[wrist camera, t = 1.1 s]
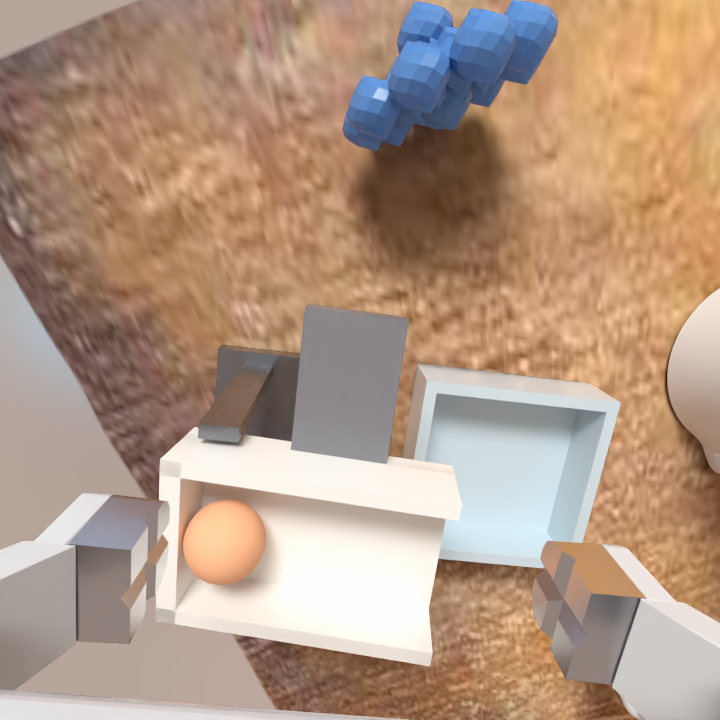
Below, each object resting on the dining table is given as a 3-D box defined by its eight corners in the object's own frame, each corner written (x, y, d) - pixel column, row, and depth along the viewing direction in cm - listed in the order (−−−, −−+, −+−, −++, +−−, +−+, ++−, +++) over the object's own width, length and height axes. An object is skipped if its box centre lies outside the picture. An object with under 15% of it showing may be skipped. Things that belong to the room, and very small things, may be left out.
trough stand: (302, 353, 37) (281, 417, 24) (287, 507, 40) (261, 633, 27) (222, 344, 36) (157, 403, 24) (213, 500, 39) (152, 624, 27)
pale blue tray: (589, 383, 38) (620, 402, 34) (550, 535, 41) (574, 571, 37) (417, 363, 37) (427, 380, 33) (391, 520, 40) (397, 555, 36)
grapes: (487, 7, 31) (572, -127, 20) (517, 115, 33) (611, 50, 21) (319, 78, 32) (305, -11, 20) (356, 180, 34) (363, 151, 22)
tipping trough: (478, 327, 24) (494, 344, 20) (425, 607, 28) (429, 666, 24) (201, 289, 25) (164, 298, 21) (188, 569, 29) (155, 620, 25)
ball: (284, 512, 24) (209, 540, 21) (277, 581, 25) (204, 616, 22) (242, 478, 27) (170, 498, 24) (237, 541, 28) (168, 568, 25)
